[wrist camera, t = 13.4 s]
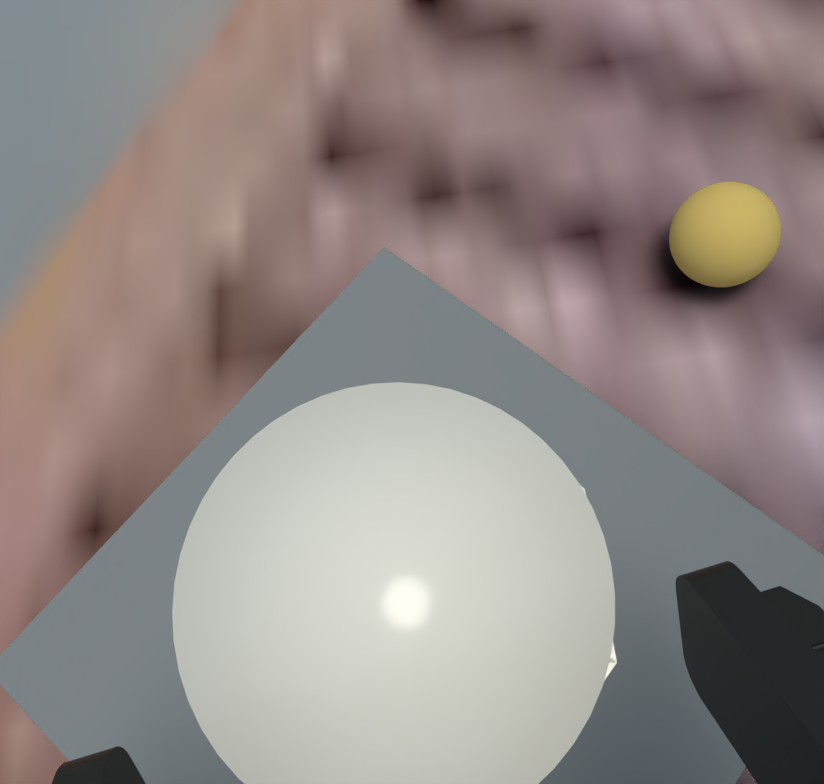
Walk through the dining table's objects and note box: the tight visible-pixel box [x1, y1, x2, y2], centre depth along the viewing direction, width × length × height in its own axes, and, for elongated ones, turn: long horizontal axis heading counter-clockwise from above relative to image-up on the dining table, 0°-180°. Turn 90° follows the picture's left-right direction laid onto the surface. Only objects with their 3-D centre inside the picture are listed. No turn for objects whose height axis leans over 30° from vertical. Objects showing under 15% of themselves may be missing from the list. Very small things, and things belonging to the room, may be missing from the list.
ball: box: [669, 182, 781, 287], centre depth 22 cm, size 3×3×3 cm
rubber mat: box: [0, 247, 824, 784], centre depth 19 cm, size 16×16×1 cm
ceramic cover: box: [172, 382, 617, 784], centre depth 14 cm, size 6×6×10 cm
